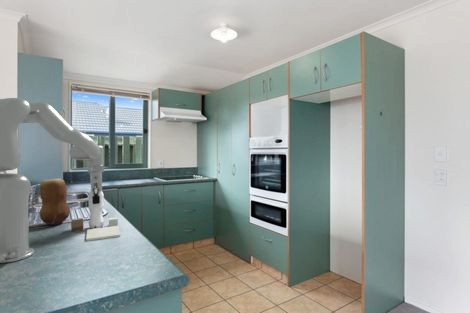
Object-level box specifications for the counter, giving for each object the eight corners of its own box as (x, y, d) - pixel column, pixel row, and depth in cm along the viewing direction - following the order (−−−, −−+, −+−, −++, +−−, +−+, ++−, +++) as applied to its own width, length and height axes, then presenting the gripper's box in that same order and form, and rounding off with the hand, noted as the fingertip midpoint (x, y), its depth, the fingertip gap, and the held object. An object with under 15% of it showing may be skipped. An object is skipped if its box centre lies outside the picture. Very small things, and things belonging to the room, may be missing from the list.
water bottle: (86, 230, 136) (86, 180, 135) (90, 226, 142) (89, 179, 142) (102, 229, 137) (101, 180, 137) (105, 225, 144) (104, 178, 144)
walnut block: (83, 230, 135) (82, 220, 135) (71, 232, 133) (71, 222, 133) (83, 228, 139) (83, 218, 139) (72, 229, 137) (72, 219, 137)
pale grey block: (117, 226, 143) (117, 218, 143) (109, 227, 141) (109, 219, 141) (117, 224, 146) (117, 217, 146) (109, 225, 144) (108, 218, 144)
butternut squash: (50, 221, 152) (49, 177, 152) (74, 220, 153) (73, 177, 153) (33, 228, 139) (32, 180, 138) (60, 227, 140) (59, 179, 139)
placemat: (120, 236, 126) (120, 234, 126) (86, 241, 119) (86, 239, 119) (118, 227, 140) (117, 225, 140) (87, 231, 134) (87, 229, 134)
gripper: (104, 170, 133) (104, 204, 134) (103, 167, 148) (103, 198, 149) (86, 170, 130) (87, 205, 130) (87, 168, 145) (88, 199, 146)
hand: (96, 202), depth 140 cm, fingers open, 9 cm apart
